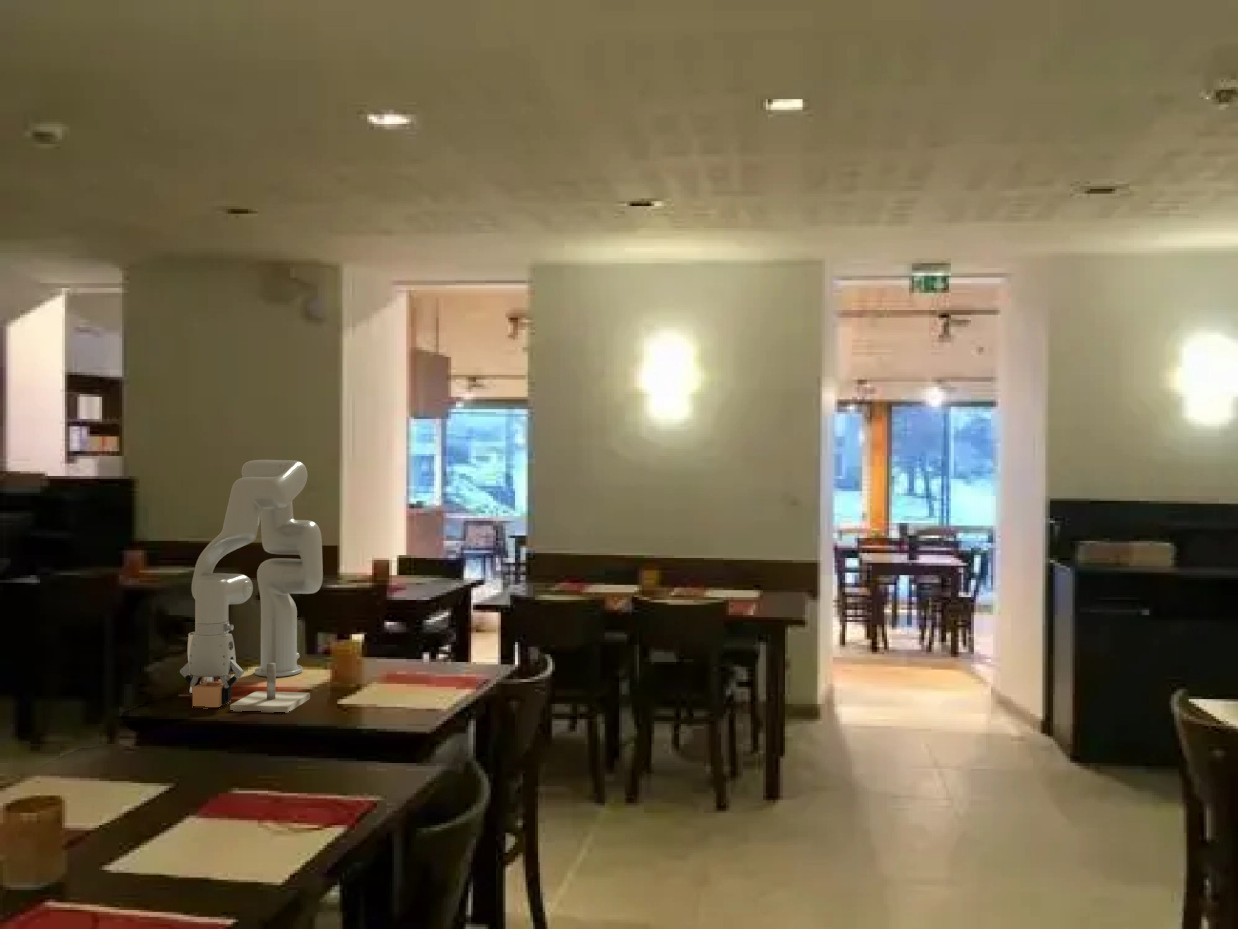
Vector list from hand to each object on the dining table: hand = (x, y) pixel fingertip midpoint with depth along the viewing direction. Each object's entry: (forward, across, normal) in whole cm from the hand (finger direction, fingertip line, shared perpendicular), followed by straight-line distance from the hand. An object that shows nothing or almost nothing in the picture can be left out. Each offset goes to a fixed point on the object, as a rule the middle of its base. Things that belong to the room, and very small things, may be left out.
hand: (211, 702), depth 254 cm
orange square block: (+1, 0, 0) cm, 1 cm away
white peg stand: (+1, -14, -2) cm, 14 cm away
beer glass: (+1, +9, -13) cm, 16 cm away
